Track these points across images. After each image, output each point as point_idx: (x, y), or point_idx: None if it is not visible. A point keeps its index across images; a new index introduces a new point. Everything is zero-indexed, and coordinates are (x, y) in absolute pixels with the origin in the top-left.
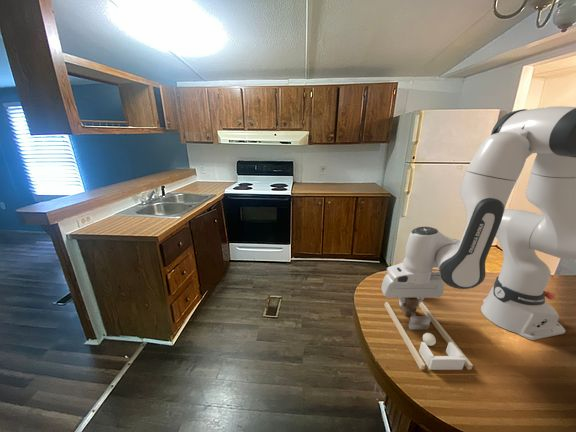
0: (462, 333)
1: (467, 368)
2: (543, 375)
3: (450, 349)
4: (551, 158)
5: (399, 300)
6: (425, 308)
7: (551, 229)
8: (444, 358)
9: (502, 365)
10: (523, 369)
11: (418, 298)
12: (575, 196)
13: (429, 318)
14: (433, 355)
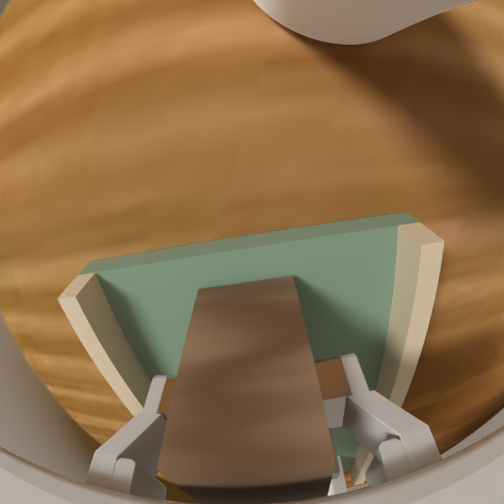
0: (469, 354)
1: (351, 473)
2: (499, 401)
3: (331, 487)
4: None
5: (146, 406)
6: (415, 323)
7: None
8: None
9: (456, 416)
10: (484, 405)
11: (373, 433)
12: None
13: (332, 478)
14: None
